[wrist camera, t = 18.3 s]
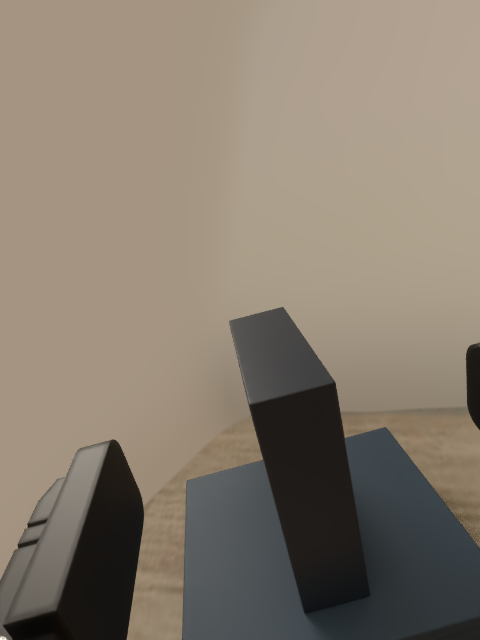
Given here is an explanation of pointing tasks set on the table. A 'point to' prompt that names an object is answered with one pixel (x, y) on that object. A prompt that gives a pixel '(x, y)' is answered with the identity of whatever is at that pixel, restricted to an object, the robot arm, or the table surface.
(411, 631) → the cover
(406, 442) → the table surface
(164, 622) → the table surface
